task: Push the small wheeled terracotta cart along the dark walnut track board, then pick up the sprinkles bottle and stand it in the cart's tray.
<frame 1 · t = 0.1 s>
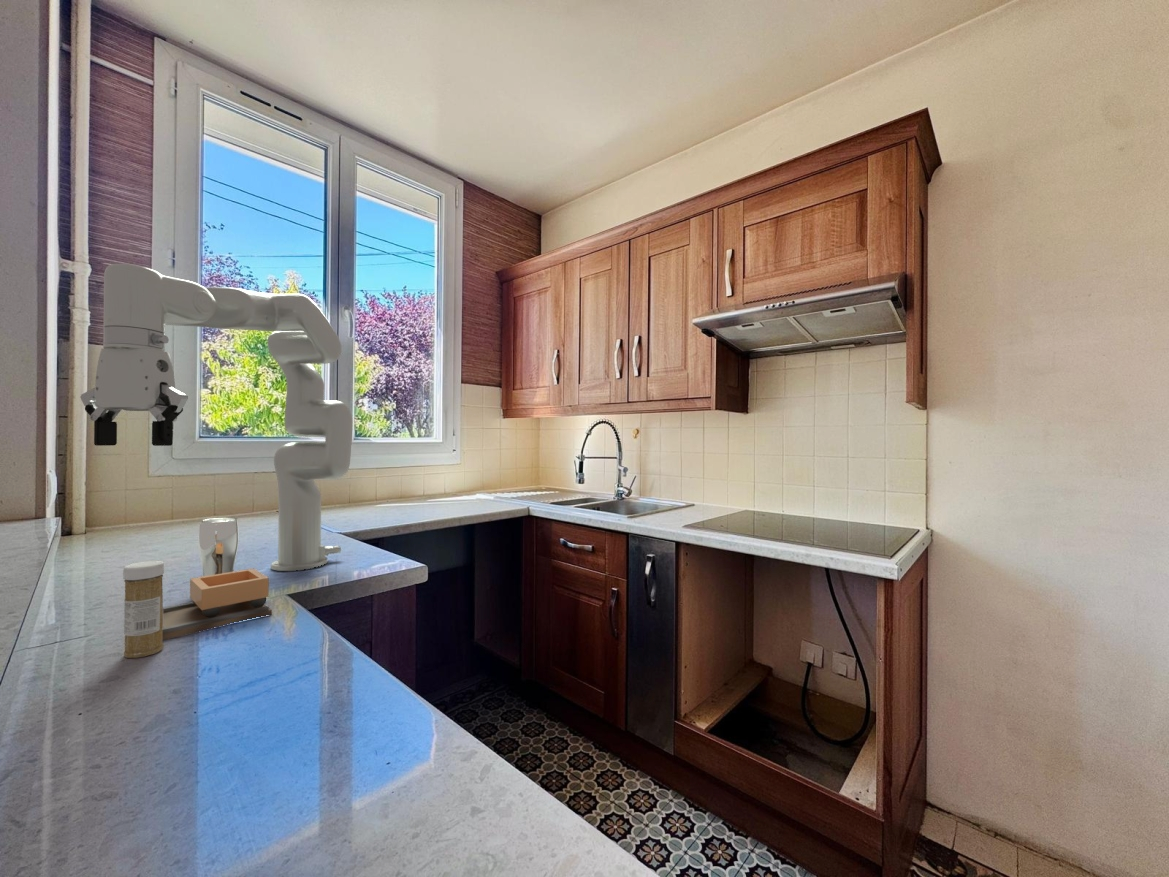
hand: (133, 445, 82), 31 cm above the countertop, tool pointing down, fingers open, 9 cm apart
cart: (229, 592, 91), point 4 cm above the countertop, slide at 0.0 cm
sprinkles bottle: (143, 654, 74), on the countertop
beer glass: (218, 590, 105), on the countertop
track board: (202, 619, 88), on the countertop
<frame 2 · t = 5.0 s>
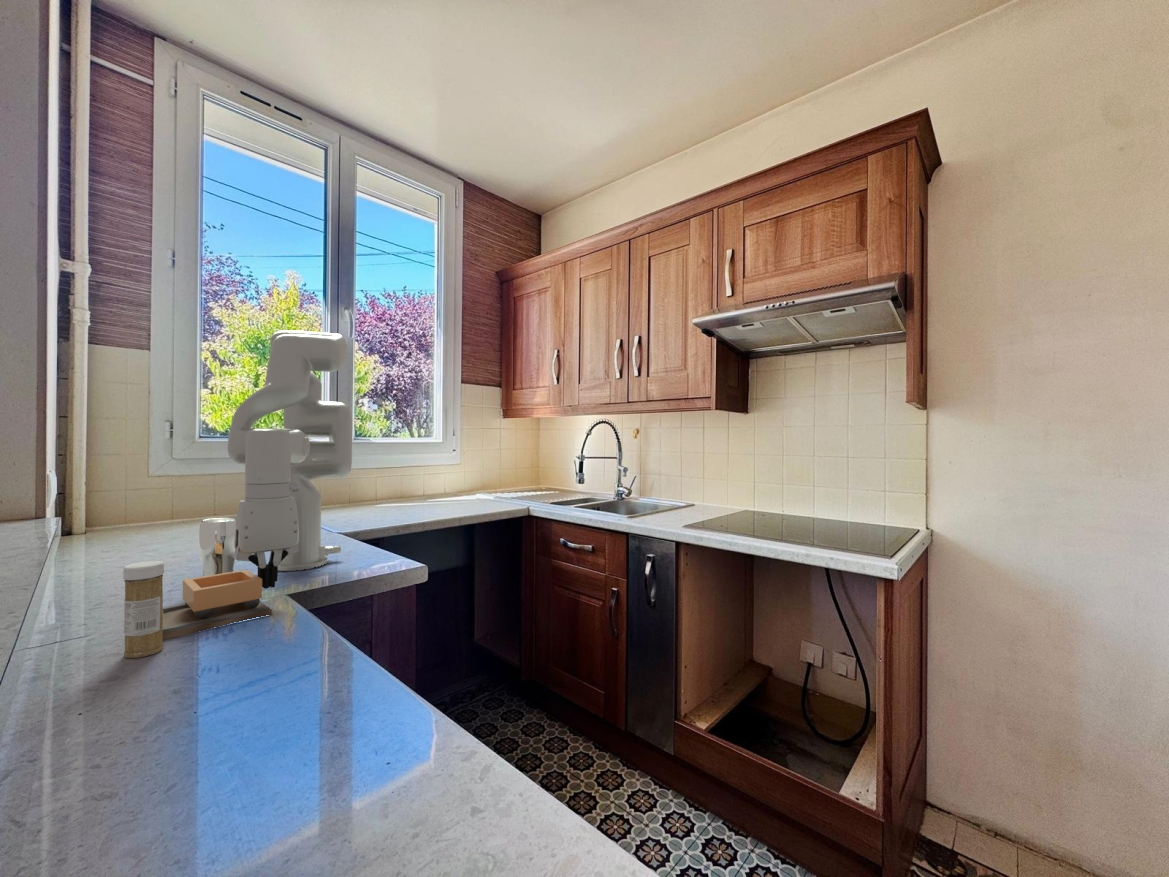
hand: (267, 586, 96), 4 cm above the countertop, tool pointing down, fingers closed
cart: (222, 593, 90), point 4 cm above the countertop, slide at 1.1 cm, touching gripper
everything else where it was.
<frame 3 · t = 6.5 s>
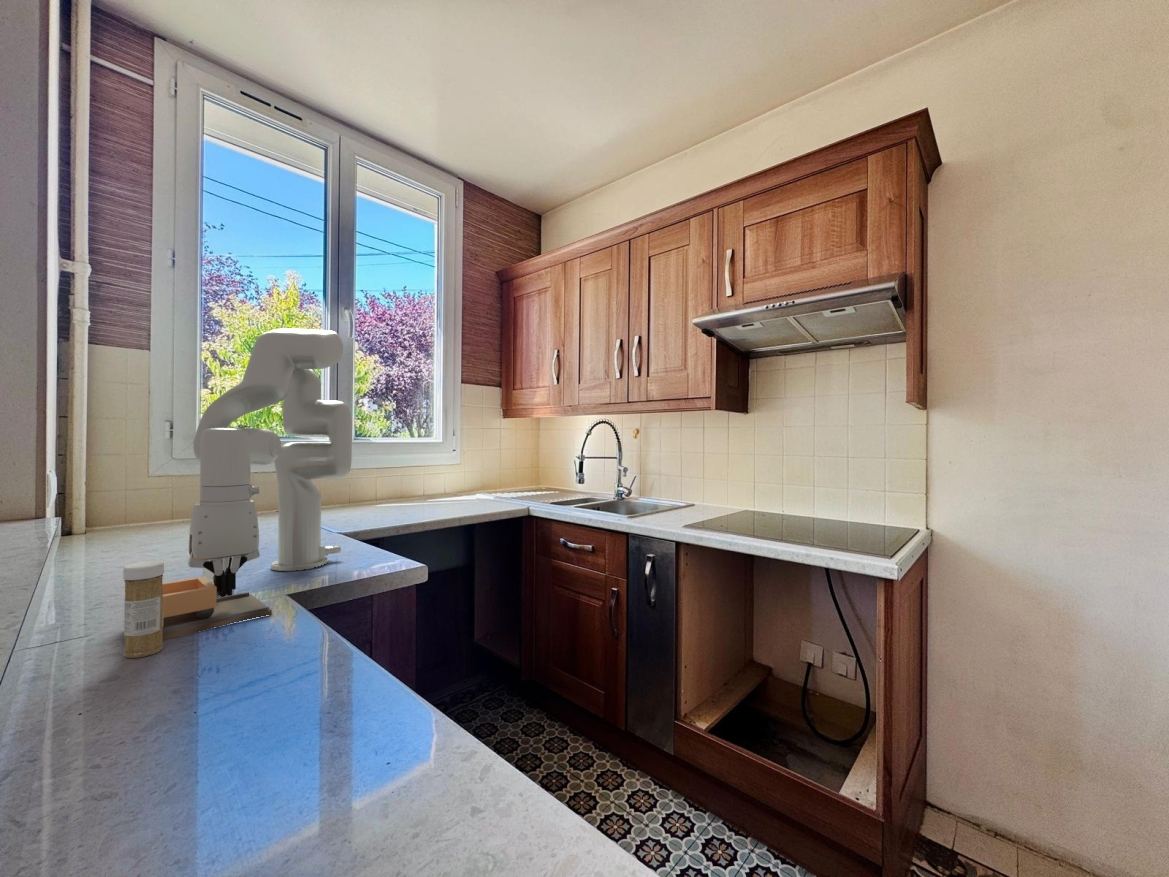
hand: (224, 594, 91), 4 cm above the countertop, tool pointing down, fingers closed
cart: (174, 602, 85), point 4 cm above the countertop, slide at 7.9 cm, touching gripper
everything else where it was.
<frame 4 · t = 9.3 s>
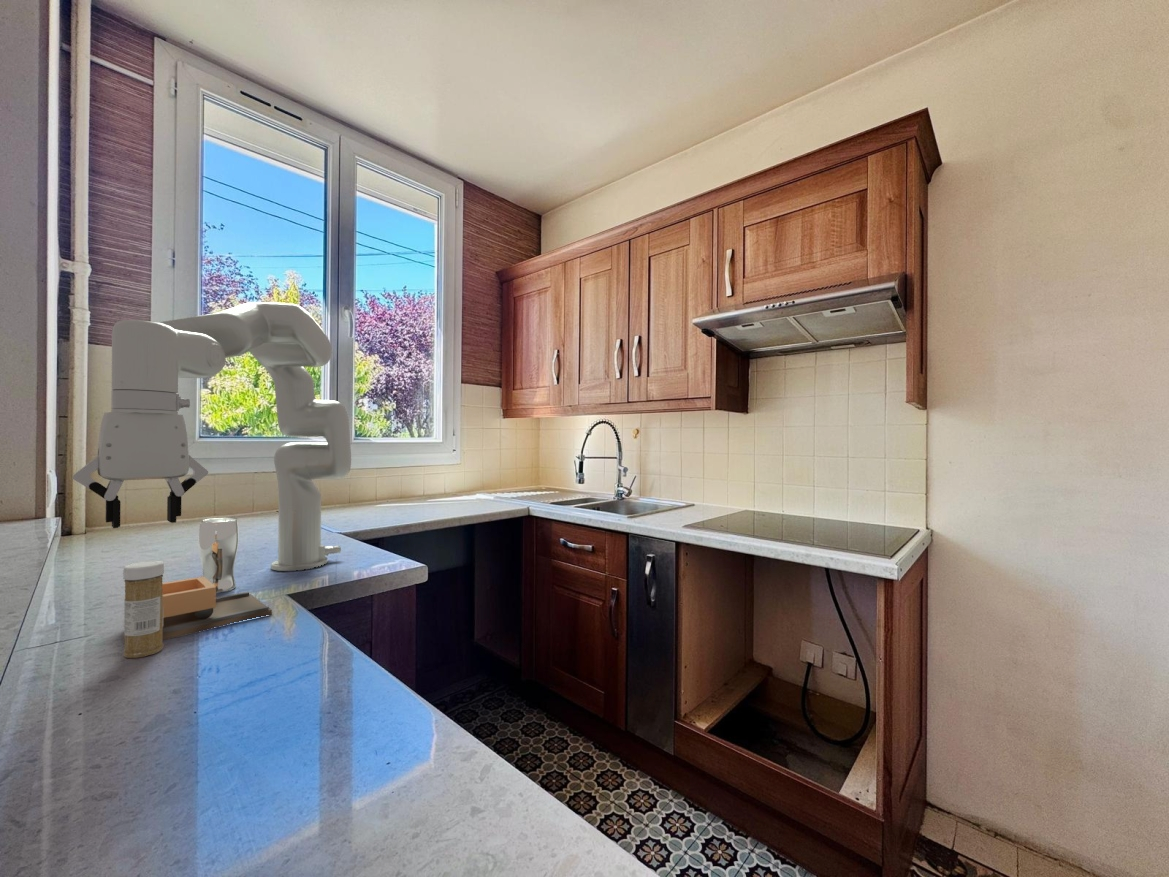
hand: (144, 523, 74), 20 cm above the countertop, tool pointing down, fingers open, 5 cm apart
cart: (173, 602, 85), point 4 cm above the countertop, slide at 8.0 cm
everything else where it was.
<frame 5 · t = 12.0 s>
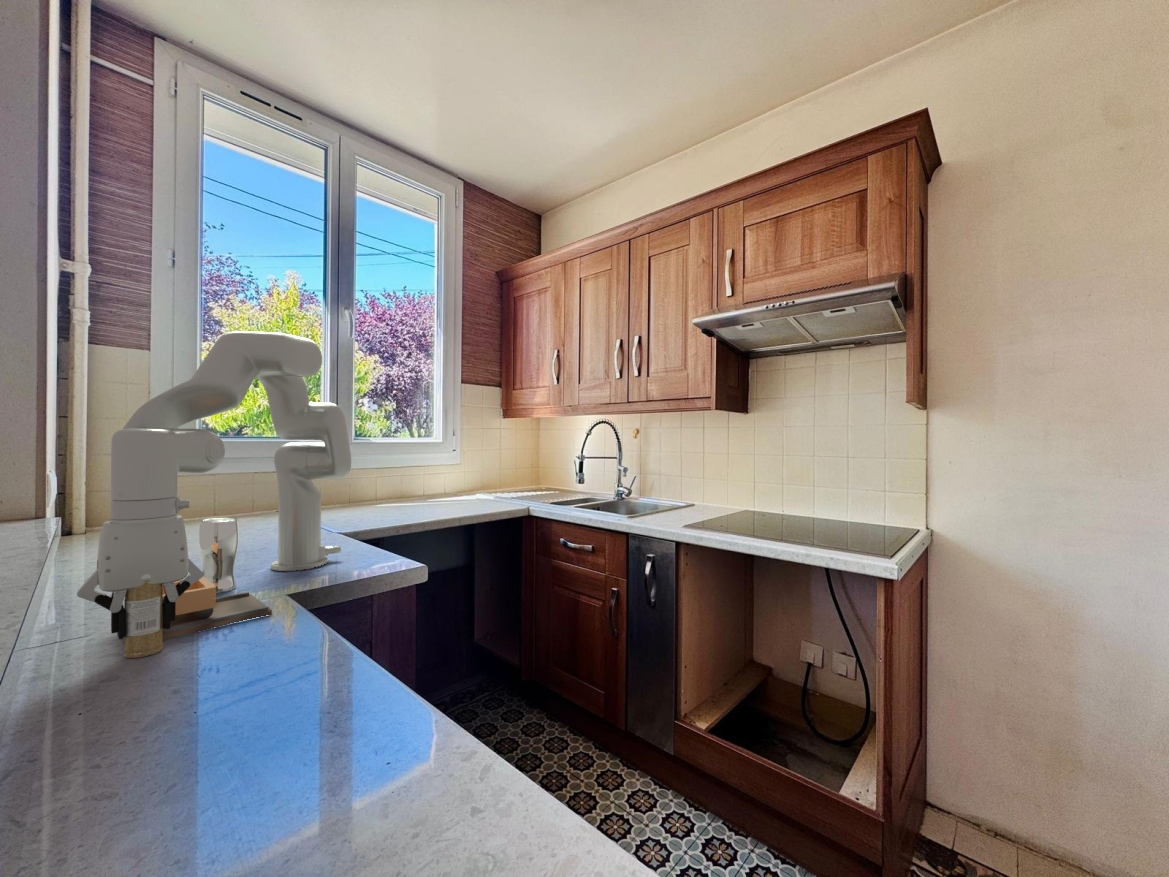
hand: (144, 630, 74), 3 cm above the countertop, tool pointing down, fingers closed on sprinkles bottle, 4 cm apart
sprinkles bottle: (143, 654, 74), on the countertop, touching gripper
everything else where it was.
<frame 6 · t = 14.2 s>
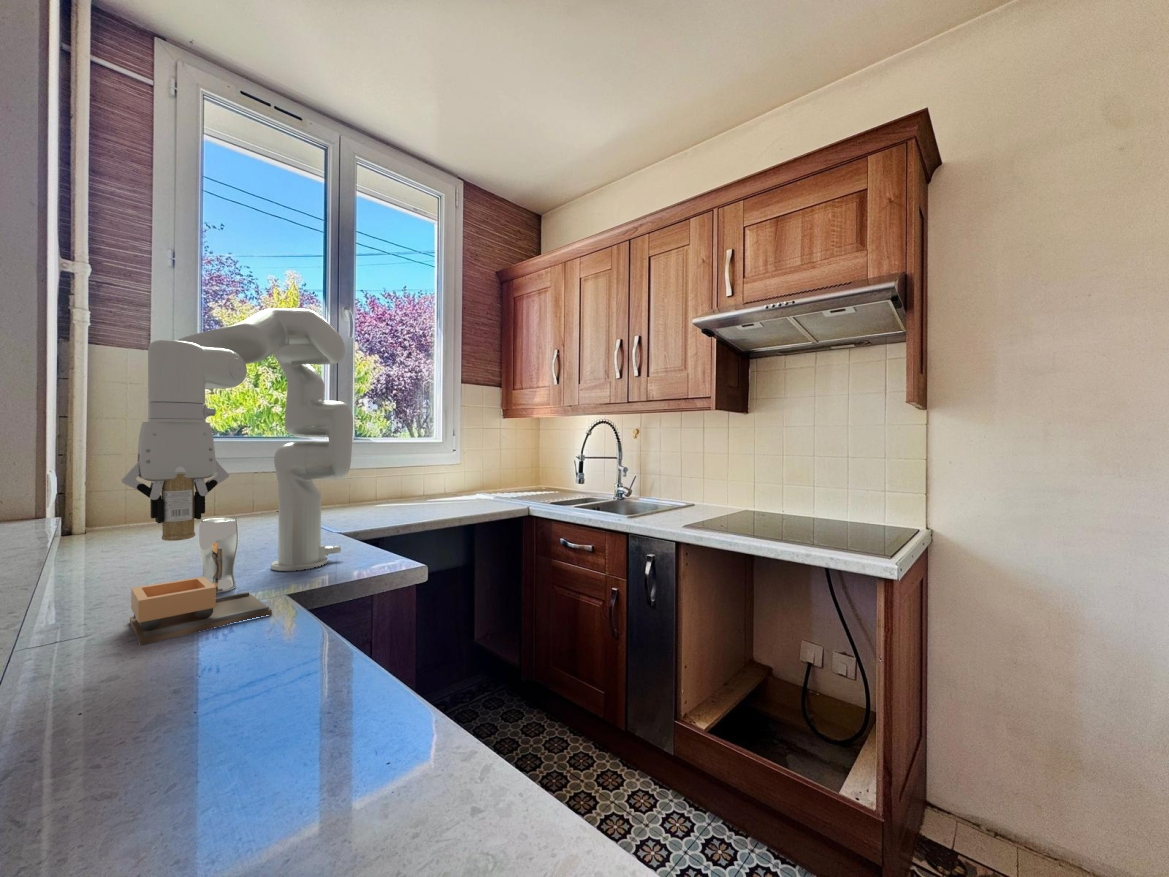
hand: (178, 519, 85), 18 cm above the countertop, tool pointing down, fingers closed on sprinkles bottle, 4 cm apart
sprinkles bottle: (178, 539, 85), point 15 cm above the countertop, touching gripper
everything else where it was.
when the fingers open (8 cm above the countertop, at t = 16.8 s): sprinkles bottle stays where it is, resting on cart.
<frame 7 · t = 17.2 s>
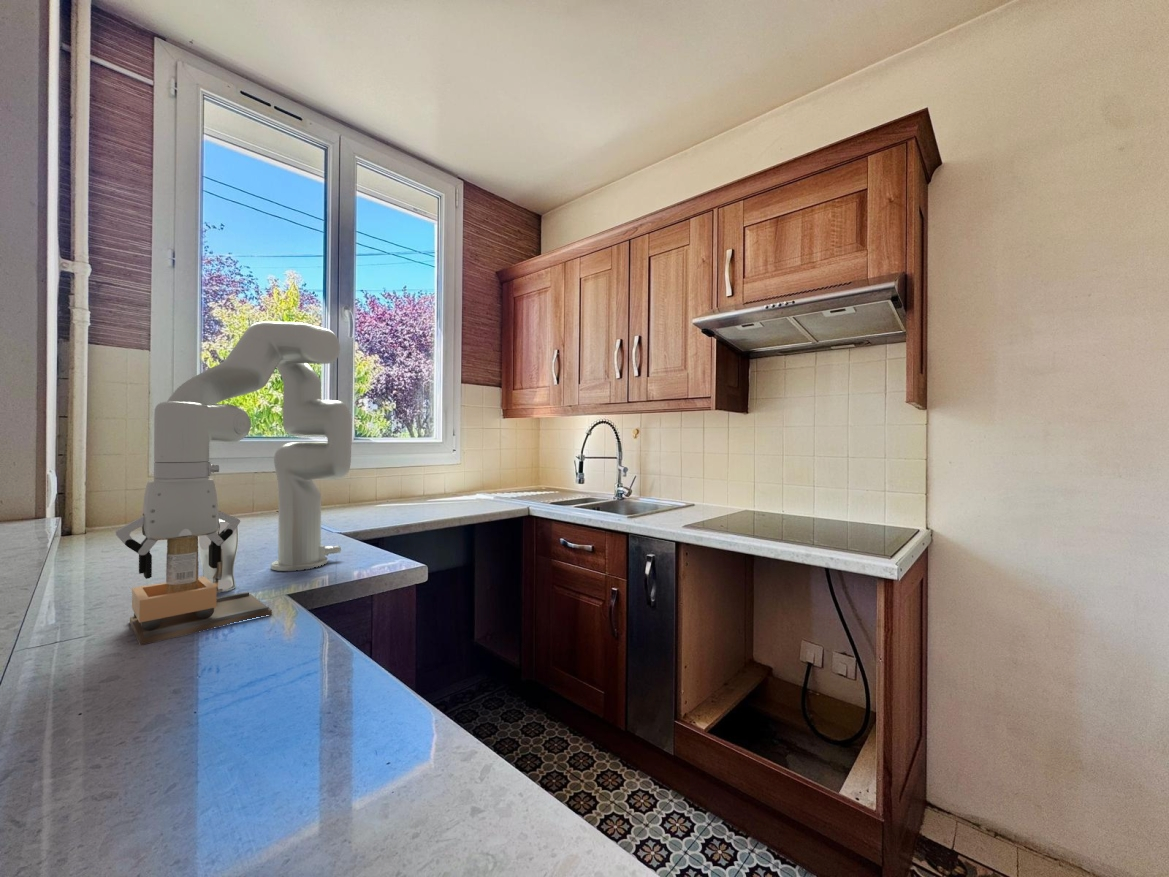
hand: (181, 571, 86), 9 cm above the countertop, tool pointing down, fingers open, 8 cm apart
cart: (174, 602, 85), point 4 cm above the countertop, slide at 7.9 cm, touching sprinkles bottle
sprinkles bottle: (181, 601, 86), point 4 cm above the countertop, touching cart
everything else where it was.
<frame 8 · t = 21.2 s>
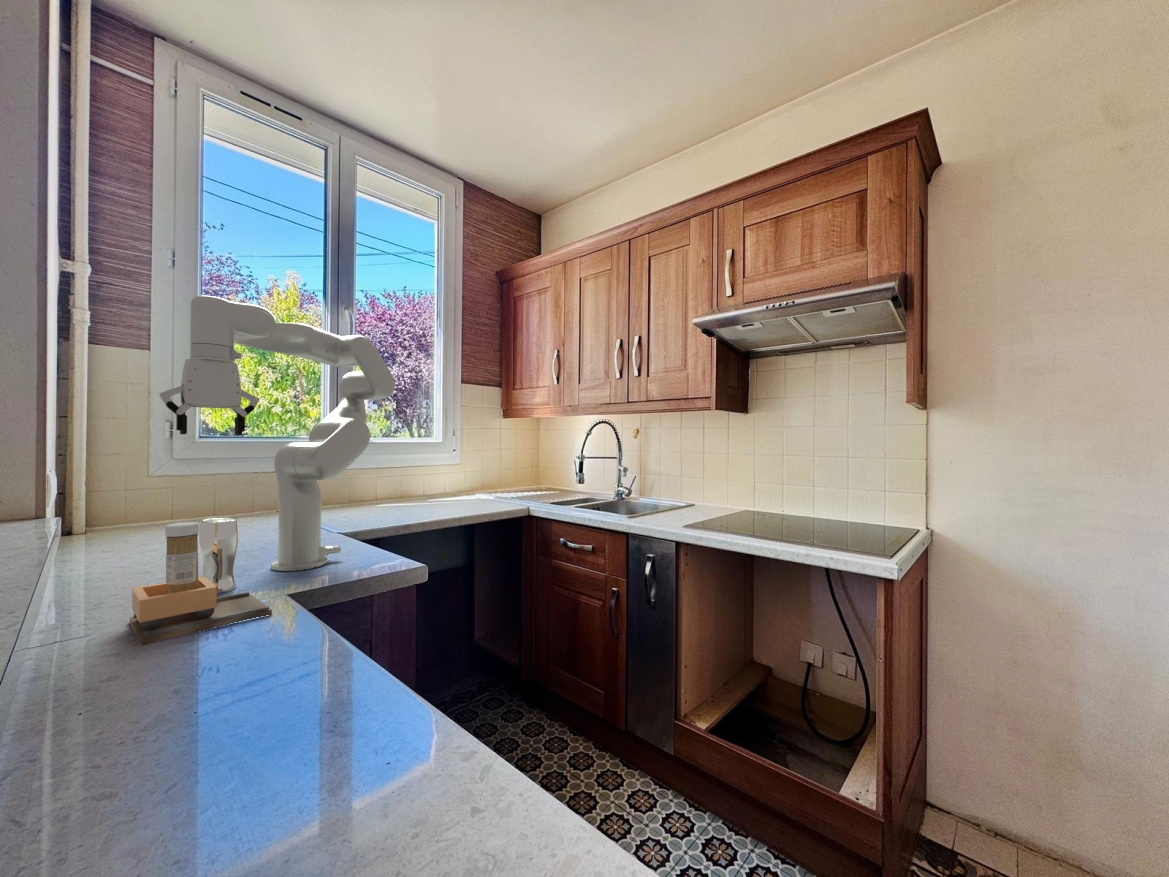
hand: (211, 434, 106), 33 cm above the countertop, tool pointing down, fingers open, 9 cm apart
nothing on the countertop moved.
at the end: cart slide at 7.9 cm; sprinkles bottle 1.0 cm off-centre on the cart, point 3.8 cm above the cart's base; sprinkles bottle tilted 0° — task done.
